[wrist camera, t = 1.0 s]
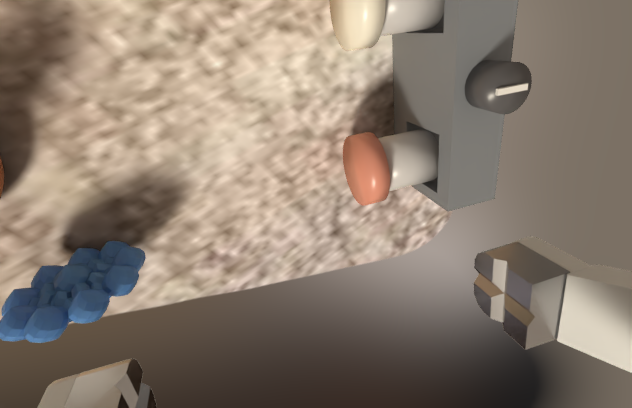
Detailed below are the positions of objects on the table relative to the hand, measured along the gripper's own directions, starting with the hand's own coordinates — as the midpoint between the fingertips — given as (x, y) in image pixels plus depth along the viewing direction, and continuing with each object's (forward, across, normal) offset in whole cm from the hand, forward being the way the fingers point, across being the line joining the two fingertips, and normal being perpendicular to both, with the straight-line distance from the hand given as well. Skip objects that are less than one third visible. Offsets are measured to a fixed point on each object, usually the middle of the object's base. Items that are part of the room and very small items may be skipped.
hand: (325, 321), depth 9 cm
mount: (+32, -21, -1) cm, 39 cm away
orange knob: (+31, -15, +6) cm, 34 cm away
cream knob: (+30, -15, -9) cm, 34 cm away
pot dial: (+22, -21, -1) cm, 30 cm away
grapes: (+33, +17, +12) cm, 39 cm away
